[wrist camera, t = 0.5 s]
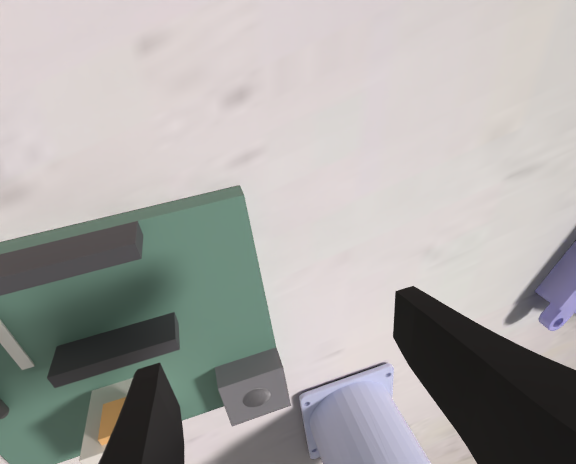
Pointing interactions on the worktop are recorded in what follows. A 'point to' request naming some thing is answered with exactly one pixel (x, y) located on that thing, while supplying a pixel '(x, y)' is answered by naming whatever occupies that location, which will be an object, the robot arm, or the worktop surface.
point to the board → (133, 320)
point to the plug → (102, 419)
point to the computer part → (559, 291)
